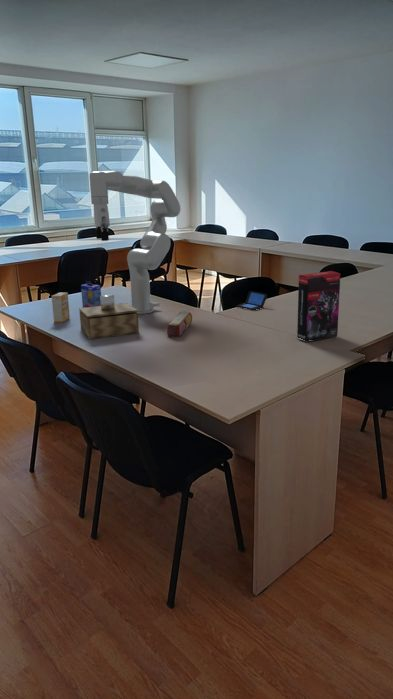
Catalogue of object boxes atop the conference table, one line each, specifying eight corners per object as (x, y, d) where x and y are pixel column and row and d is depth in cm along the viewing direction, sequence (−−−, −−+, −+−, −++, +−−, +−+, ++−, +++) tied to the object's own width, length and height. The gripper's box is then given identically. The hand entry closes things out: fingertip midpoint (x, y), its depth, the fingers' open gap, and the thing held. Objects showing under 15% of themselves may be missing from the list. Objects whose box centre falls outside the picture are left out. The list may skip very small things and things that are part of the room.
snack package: (180, 338, 222) (180, 323, 220) (165, 337, 224) (165, 322, 222) (192, 325, 242) (192, 311, 240) (178, 324, 243) (178, 310, 241)
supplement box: (63, 323, 248) (60, 296, 244) (53, 322, 249) (50, 295, 244) (70, 318, 255) (68, 292, 251) (61, 318, 256) (58, 291, 252)
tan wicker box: (127, 323, 245) (126, 305, 242) (138, 332, 230) (137, 313, 228) (81, 329, 237) (79, 310, 234) (89, 339, 222) (87, 319, 219)
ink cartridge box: (81, 307, 276) (79, 280, 272) (89, 305, 281) (87, 278, 276) (95, 310, 271) (92, 282, 266) (102, 308, 275) (100, 280, 270)
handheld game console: (235, 307, 273) (235, 293, 271) (249, 304, 280) (249, 290, 278) (253, 311, 265) (254, 297, 262) (267, 307, 271) (268, 293, 269)
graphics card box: (305, 343, 213) (309, 276, 204) (294, 339, 219) (298, 274, 210) (337, 337, 220) (342, 272, 212) (326, 333, 226) (331, 270, 218)
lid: (126, 304, 242) (126, 303, 242) (137, 311, 227) (137, 310, 227) (79, 310, 234) (79, 308, 234) (87, 317, 219) (87, 315, 219)
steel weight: (112, 307, 234) (111, 293, 233) (116, 309, 229) (115, 296, 227) (99, 308, 232) (98, 295, 230) (103, 311, 227) (101, 297, 225)
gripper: (113, 201, 227) (115, 241, 233) (103, 199, 242) (105, 237, 248) (96, 201, 224) (98, 242, 230) (87, 200, 239) (90, 238, 245)
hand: (102, 239), depth 239 cm, fingers open, 9 cm apart
